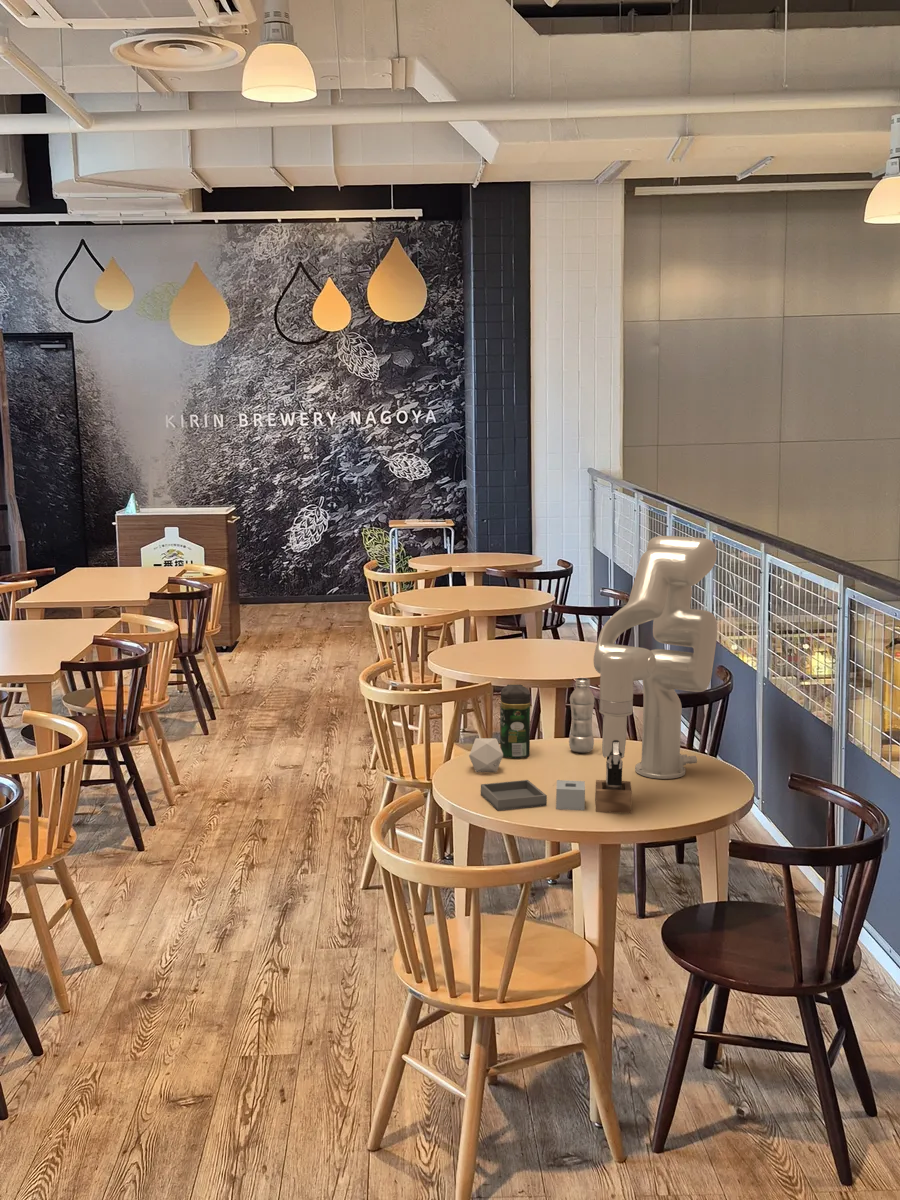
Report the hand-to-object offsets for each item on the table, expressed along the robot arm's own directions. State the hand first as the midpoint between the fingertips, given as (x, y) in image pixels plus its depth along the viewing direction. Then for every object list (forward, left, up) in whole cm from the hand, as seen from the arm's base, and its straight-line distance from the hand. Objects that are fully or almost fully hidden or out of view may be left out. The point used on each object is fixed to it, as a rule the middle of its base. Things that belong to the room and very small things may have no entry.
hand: (613, 778), depth 267 cm
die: (+19, -34, -7) cm, 40 cm away
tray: (+21, -11, -7) cm, 24 cm away
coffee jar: (+7, -45, -7) cm, 47 cm away
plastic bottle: (-11, -42, -7) cm, 44 cm away
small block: (+9, -4, -7) cm, 12 cm away
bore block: (0, 0, -7) cm, 7 cm away
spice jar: (0, 0, -7) cm, 7 cm away
